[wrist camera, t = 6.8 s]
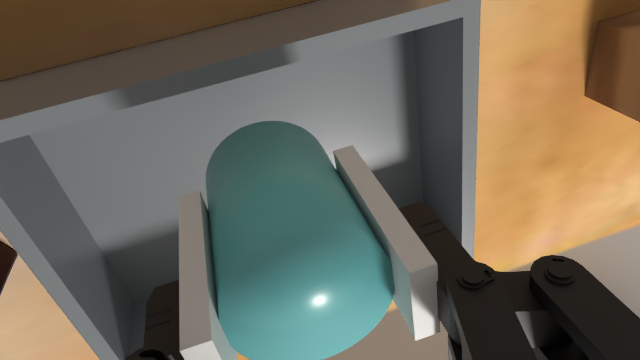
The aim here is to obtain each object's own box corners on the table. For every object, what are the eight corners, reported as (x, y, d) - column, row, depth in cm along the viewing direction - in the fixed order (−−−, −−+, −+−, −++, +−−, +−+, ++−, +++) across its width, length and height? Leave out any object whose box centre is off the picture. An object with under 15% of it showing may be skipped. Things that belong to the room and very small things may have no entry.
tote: (126, 307, 29) (118, 383, 25) (-16, 85, 20) (-71, 138, 16) (430, 207, 32) (473, 259, 27) (420, -26, 23) (480, -8, 19)
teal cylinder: (230, 103, 16) (259, 213, 10) (348, 141, 18) (426, 250, 13) (188, 214, 18) (193, 359, 12) (299, 237, 20) (348, 370, 14)
